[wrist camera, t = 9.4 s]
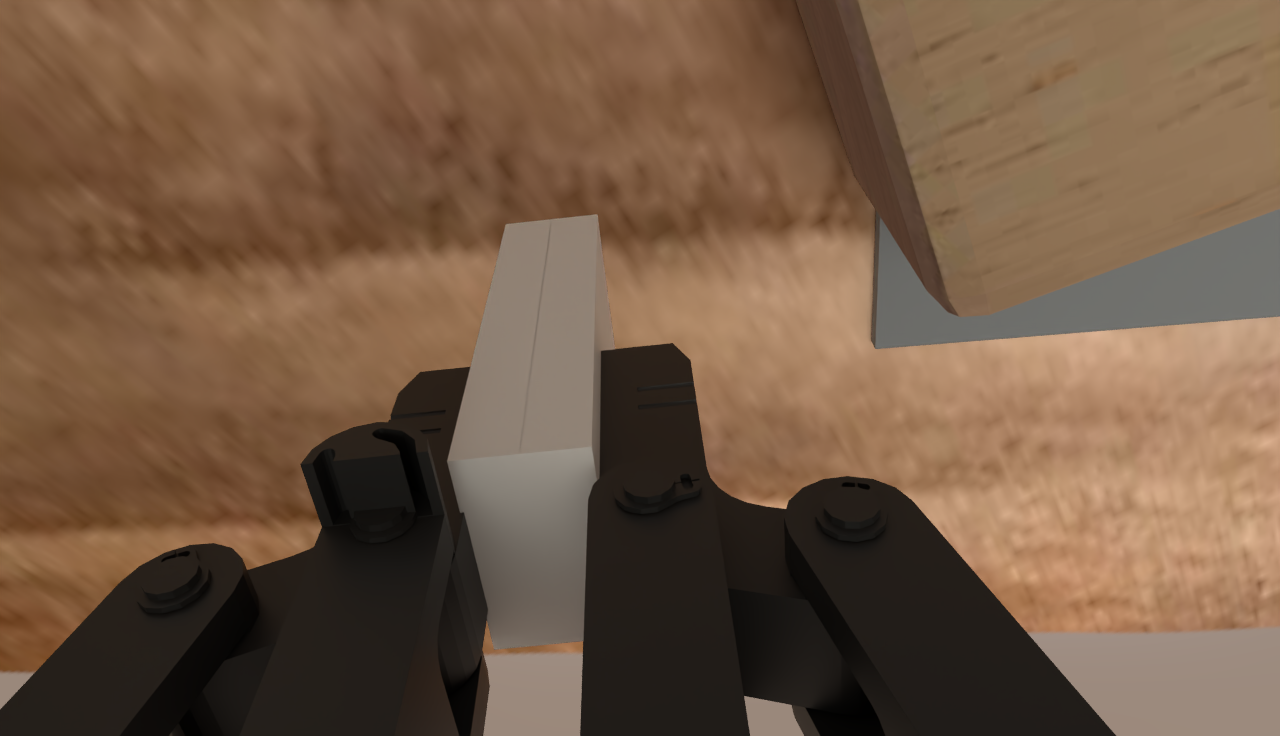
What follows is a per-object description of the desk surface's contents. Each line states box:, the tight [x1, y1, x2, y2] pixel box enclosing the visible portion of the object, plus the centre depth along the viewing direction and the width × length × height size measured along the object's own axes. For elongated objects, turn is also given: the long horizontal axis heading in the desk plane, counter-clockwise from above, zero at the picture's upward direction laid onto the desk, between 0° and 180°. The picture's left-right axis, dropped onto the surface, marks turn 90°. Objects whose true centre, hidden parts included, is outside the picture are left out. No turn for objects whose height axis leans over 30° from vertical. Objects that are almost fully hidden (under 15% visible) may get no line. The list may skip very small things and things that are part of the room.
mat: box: [871, 209, 1280, 349], centre depth 28 cm, size 22×18×1 cm
